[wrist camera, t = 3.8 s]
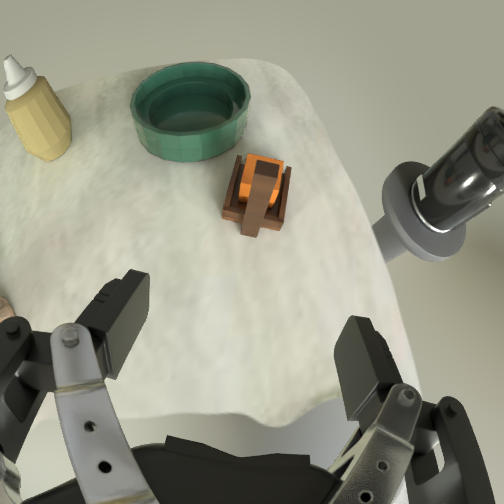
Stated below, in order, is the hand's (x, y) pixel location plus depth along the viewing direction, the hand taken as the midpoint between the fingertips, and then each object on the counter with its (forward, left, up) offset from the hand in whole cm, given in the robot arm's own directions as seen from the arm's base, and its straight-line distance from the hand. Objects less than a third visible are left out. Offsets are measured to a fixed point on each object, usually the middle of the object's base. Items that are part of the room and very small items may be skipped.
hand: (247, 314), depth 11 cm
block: (0, -17, -18) cm, 25 cm away
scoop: (0, -16, -19) cm, 25 cm away
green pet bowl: (+11, -26, -19) cm, 34 cm away
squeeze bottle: (+31, -19, -19) cm, 41 cm away
